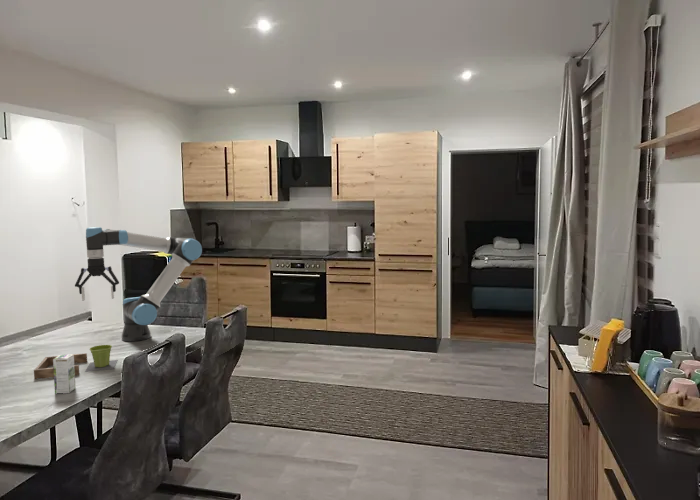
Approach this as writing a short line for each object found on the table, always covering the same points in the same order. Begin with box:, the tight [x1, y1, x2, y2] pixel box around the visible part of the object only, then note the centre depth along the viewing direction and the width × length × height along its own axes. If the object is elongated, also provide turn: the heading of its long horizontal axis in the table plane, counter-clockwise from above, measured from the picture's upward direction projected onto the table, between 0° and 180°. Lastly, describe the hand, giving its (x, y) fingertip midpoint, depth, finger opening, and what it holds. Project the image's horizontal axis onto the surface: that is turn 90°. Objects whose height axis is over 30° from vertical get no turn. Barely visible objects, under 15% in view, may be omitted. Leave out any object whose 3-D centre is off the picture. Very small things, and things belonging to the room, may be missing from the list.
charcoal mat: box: [84, 359, 118, 373], centre depth 243 cm, size 12×14×1 cm
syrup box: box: [52, 353, 76, 395], centre depth 210 cm, size 6×6×14 cm
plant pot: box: [89, 344, 112, 367], centre depth 243 cm, size 9×9×9 cm
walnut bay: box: [33, 353, 88, 380], centre depth 238 cm, size 17×20×4 cm
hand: (98, 299), depth 266 cm, fingers open, 13 cm apart
